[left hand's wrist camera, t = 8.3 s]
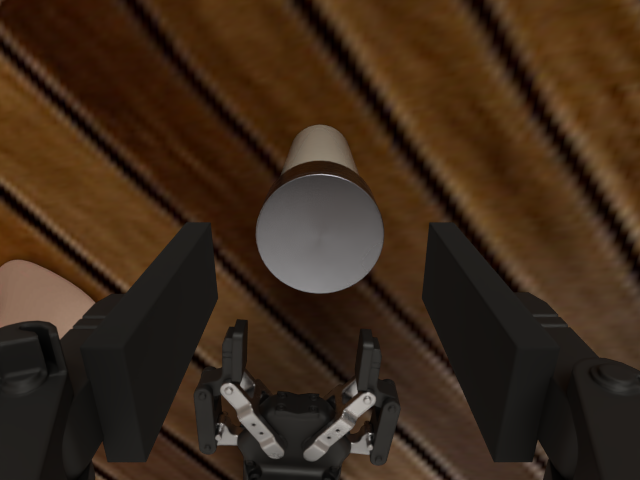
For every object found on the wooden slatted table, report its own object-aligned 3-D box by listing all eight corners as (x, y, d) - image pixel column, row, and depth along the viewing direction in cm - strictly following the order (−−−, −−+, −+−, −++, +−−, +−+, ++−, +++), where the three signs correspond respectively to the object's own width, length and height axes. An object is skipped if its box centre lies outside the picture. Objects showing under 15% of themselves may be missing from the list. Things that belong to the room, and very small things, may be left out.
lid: (322, 135, 17) (322, 145, 15) (399, 218, 18) (410, 239, 16) (240, 214, 18) (229, 235, 16) (318, 286, 20) (318, 315, 17)
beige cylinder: (321, 111, 30) (321, 153, 15) (362, 156, 31) (399, 234, 17) (277, 154, 31) (240, 231, 16) (319, 196, 32) (318, 302, 18)
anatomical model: (-62, 267, 30) (106, 319, 31) (-20, 245, 33) (129, 292, 35) (-71, 409, 34) (76, 448, 36) (-33, 376, 38) (99, 413, 39)
